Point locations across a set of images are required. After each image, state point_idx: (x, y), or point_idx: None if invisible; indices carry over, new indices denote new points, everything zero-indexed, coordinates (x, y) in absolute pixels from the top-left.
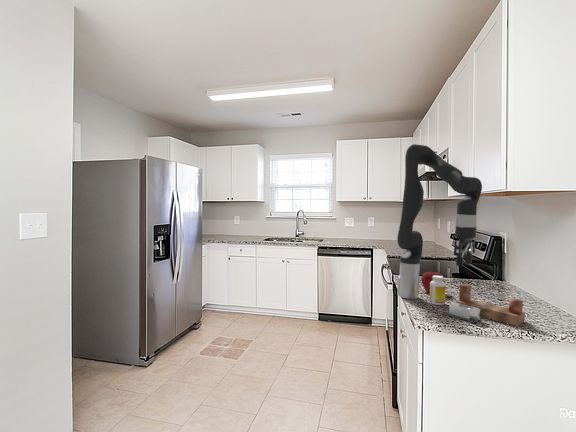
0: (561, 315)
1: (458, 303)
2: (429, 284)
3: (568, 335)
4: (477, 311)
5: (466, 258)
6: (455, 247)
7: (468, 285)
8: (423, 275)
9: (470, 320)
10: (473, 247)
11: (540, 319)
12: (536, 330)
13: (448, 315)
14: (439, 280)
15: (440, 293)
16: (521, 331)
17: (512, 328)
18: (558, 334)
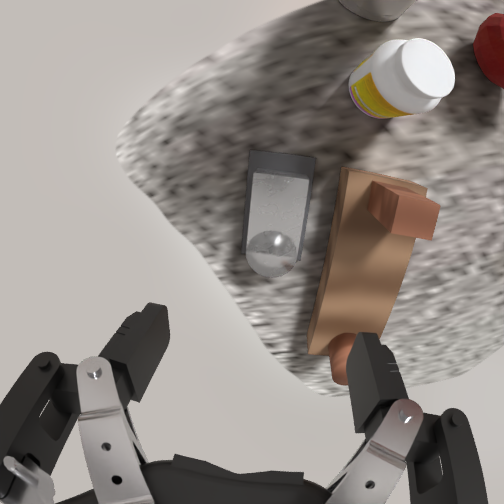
0: (453, 368)
1: (302, 195)
2: (481, 44)
3: (321, 394)
4: (257, 271)
5: (368, 373)
6: (3, 420)
7: (417, 233)
8: (501, 16)
9: (243, 242)
10: (411, 501)
11: (405, 354)
12: (309, 362)
13: (248, 168)
14: (401, 81)
15: (370, 100)
16: (274, 343)
17: (282, 328)
18: (314, 386)
